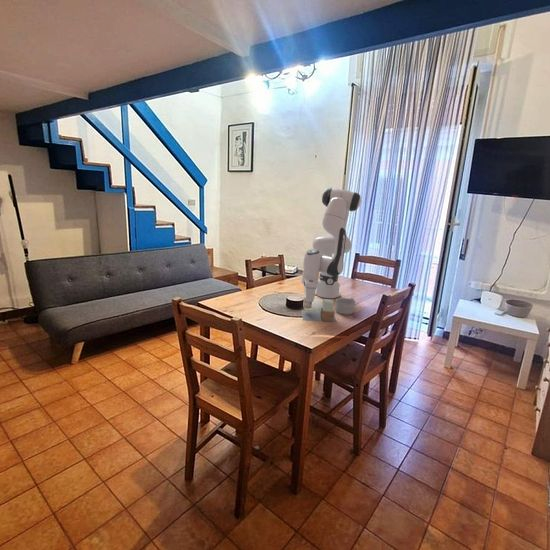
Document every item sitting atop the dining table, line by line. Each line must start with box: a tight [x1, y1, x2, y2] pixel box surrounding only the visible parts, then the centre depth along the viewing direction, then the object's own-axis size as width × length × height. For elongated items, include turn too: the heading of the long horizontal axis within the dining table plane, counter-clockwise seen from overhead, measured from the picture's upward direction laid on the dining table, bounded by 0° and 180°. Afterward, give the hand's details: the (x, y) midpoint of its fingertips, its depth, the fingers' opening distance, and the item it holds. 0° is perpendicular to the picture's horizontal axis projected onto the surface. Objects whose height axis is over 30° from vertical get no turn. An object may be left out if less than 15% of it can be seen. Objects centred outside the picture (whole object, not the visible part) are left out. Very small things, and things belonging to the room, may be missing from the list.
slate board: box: [300, 310, 338, 323], centre depth 177 cm, size 14×18×1 cm
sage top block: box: [321, 298, 335, 312], centre depth 172 cm, size 5×5×5 cm
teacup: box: [335, 297, 356, 316], centre depth 186 cm, size 14×11×8 cm
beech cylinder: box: [303, 296, 313, 309], centre depth 180 cm, size 4×4×5 cm
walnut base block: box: [320, 307, 335, 321], centre depth 173 cm, size 6×6×5 cm
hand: (307, 304), depth 180 cm, fingers closed on beech cylinder, 4 cm apart
